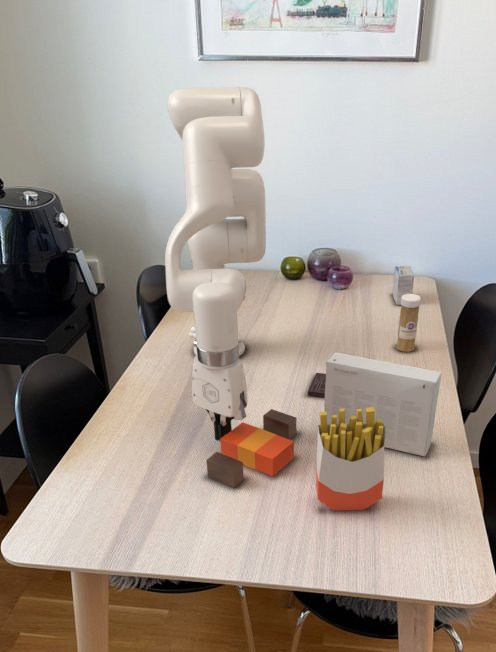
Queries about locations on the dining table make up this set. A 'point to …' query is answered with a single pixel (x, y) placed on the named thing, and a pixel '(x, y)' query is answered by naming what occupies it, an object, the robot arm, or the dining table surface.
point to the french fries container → (350, 461)
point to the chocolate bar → (318, 385)
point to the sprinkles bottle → (408, 322)
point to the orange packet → (258, 448)
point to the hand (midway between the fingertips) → (223, 437)
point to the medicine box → (402, 282)
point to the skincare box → (385, 398)
